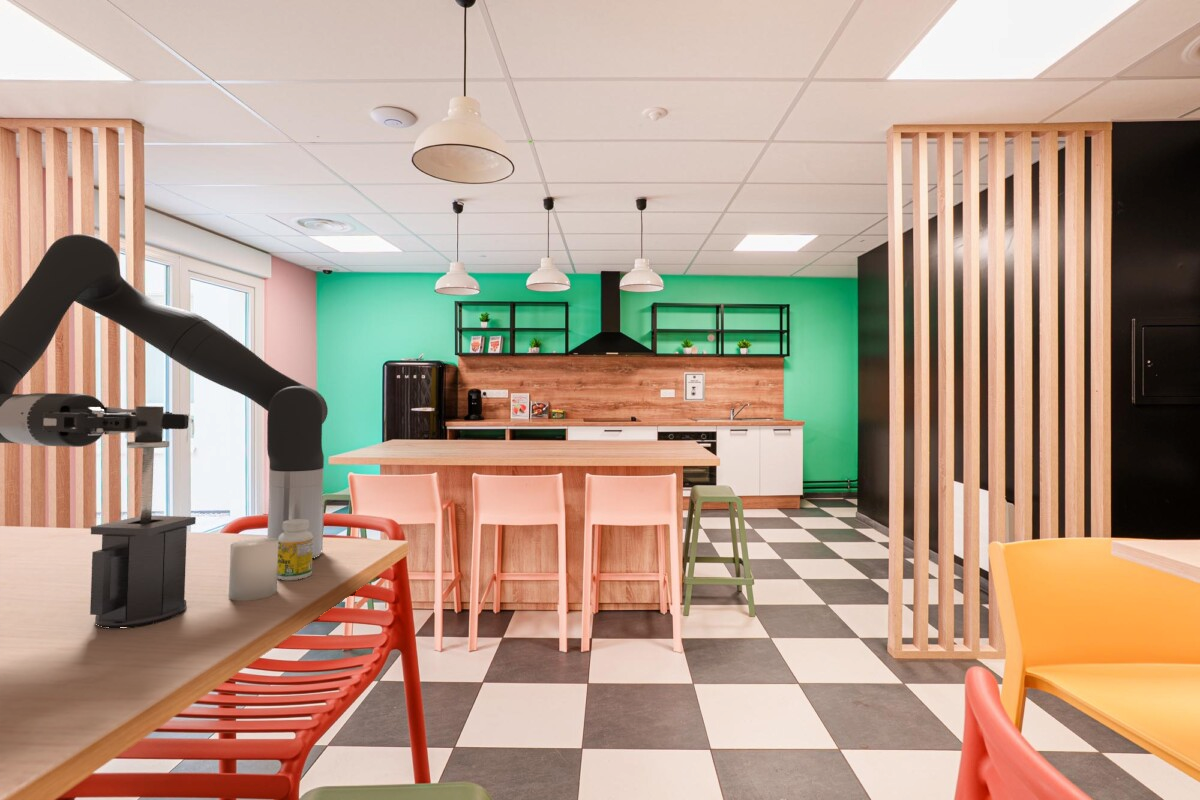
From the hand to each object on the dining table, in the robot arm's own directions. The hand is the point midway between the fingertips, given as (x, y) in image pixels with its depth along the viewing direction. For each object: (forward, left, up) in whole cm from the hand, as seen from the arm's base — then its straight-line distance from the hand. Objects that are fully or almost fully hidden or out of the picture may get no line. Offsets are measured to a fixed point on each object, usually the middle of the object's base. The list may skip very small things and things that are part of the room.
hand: (162, 422), depth 77 cm
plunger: (0, -2, -19) cm, 19 cm away
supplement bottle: (-19, +8, -27) cm, 34 cm away
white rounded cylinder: (-10, +7, -27) cm, 30 cm away
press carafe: (0, -2, -27) cm, 27 cm away
